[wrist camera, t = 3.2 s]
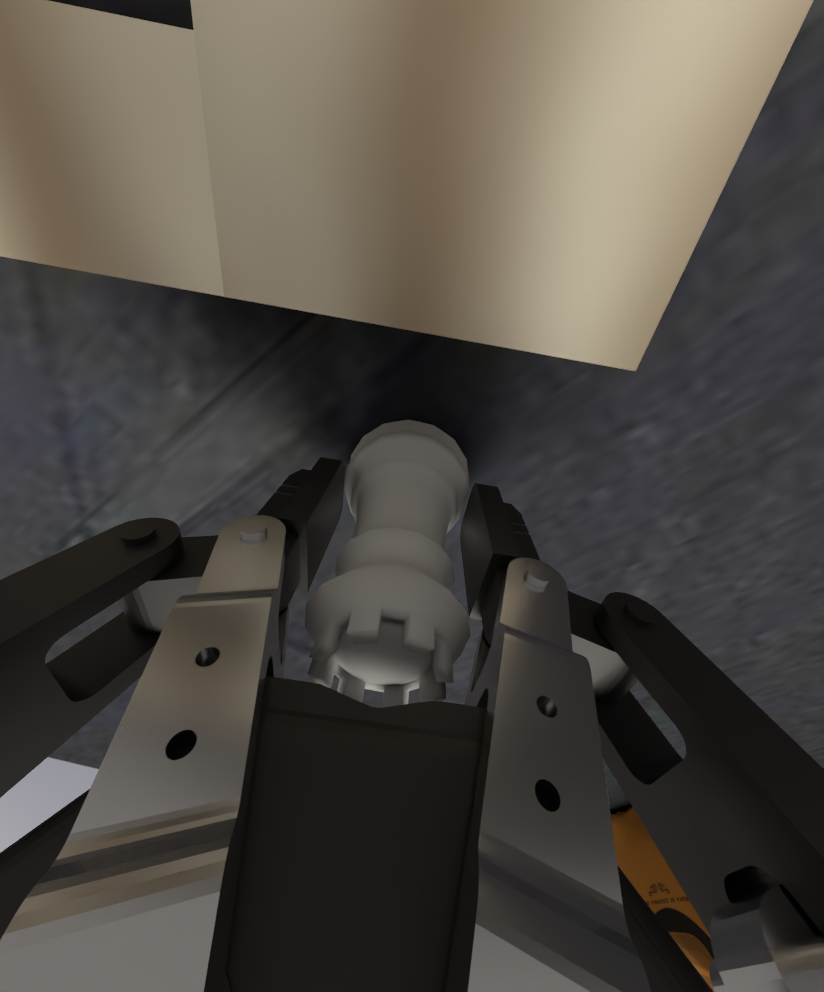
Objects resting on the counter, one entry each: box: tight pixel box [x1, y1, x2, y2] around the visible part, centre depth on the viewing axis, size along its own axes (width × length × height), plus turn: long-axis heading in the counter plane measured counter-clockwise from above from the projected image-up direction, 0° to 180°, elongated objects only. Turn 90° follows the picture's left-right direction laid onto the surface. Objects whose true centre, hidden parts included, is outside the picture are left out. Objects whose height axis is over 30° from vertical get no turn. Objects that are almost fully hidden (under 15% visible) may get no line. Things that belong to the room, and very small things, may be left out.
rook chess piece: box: [305, 420, 470, 708], centre depth 9 cm, size 4×4×8 cm
